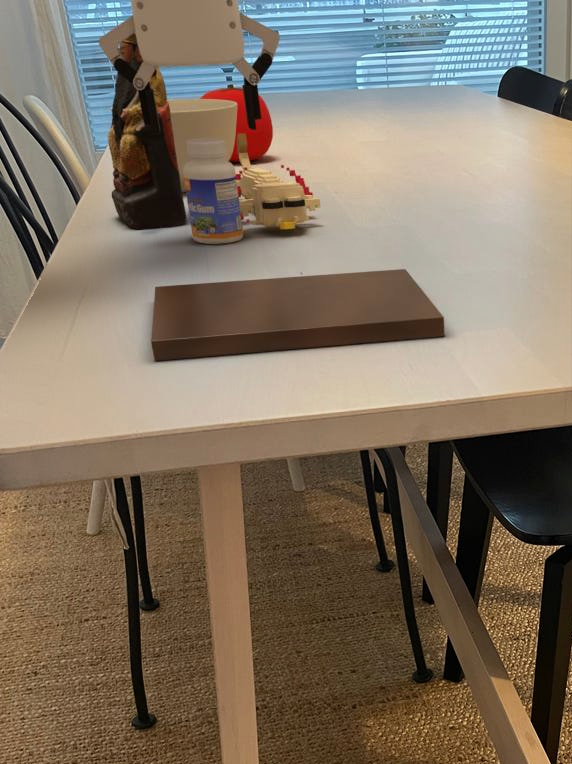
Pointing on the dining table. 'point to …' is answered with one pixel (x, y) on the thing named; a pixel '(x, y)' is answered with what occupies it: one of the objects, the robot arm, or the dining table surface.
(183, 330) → the board
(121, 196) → the statue
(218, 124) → the bowl
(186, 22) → the robot arm
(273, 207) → the axolotl toy
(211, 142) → the pill bottle
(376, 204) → the dining table surface
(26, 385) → the dining table surface
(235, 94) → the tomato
